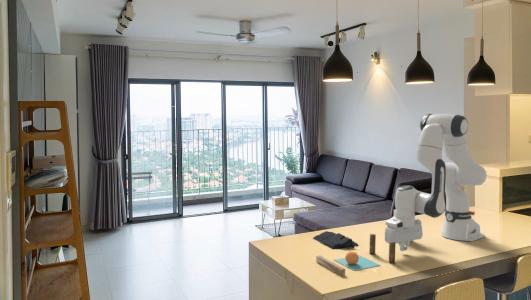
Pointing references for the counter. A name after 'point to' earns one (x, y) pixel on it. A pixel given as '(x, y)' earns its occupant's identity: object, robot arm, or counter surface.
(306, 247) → the counter surface
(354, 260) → the ball
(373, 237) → the post
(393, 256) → the post
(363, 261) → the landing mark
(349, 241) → the dark slate chunk
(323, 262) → the rail
